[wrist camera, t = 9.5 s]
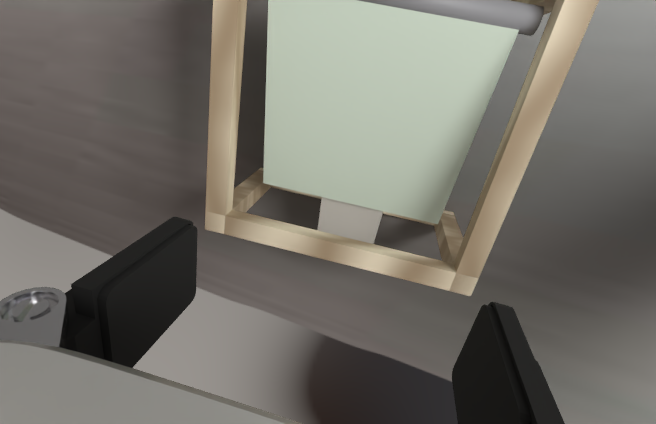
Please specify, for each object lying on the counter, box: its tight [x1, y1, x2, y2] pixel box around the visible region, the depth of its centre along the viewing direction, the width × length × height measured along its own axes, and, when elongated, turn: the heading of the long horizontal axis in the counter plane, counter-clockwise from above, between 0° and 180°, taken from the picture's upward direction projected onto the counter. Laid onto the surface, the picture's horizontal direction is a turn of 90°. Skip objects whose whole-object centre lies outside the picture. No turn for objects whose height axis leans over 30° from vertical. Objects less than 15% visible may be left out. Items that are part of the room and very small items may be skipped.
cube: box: [318, 197, 383, 244], centre depth 32 cm, size 5×5×6 cm
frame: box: [205, 0, 599, 296], centre depth 26 cm, size 20×20×12 cm
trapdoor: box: [263, 0, 544, 224], centre depth 24 cm, size 16×15×1 cm
